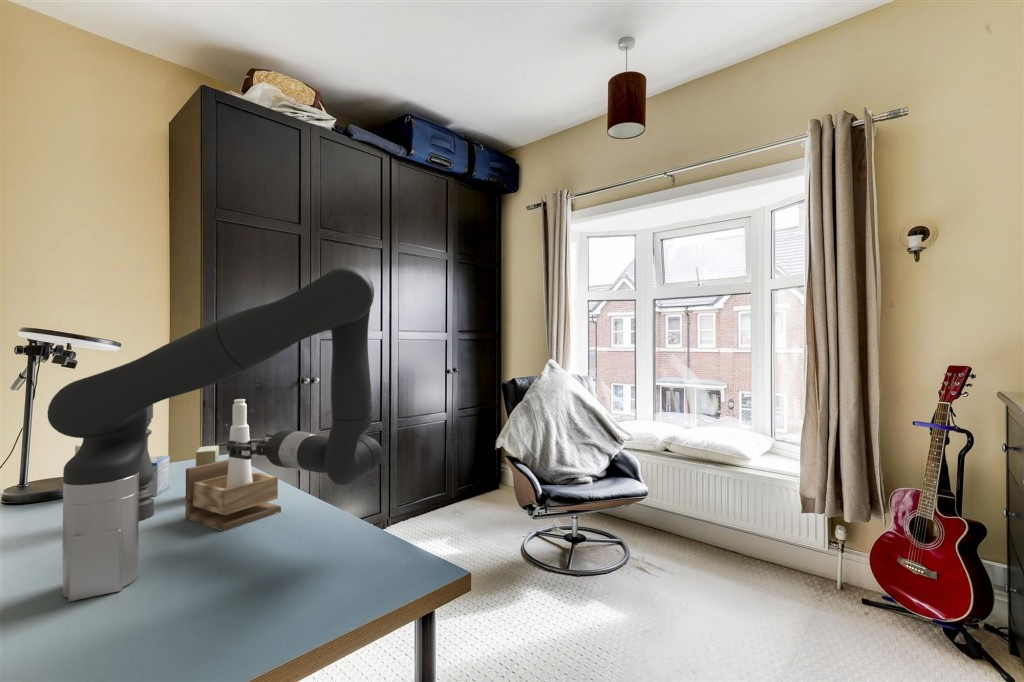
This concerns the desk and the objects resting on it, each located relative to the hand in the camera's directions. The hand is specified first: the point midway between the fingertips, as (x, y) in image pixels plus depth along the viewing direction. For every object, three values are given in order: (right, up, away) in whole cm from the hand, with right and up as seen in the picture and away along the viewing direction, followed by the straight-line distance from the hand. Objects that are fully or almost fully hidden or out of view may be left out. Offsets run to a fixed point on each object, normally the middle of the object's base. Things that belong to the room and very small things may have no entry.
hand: (248, 442), depth 104 cm
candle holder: (-25, -17, +1) cm, 31 cm away
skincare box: (-19, -17, +15) cm, 30 cm away
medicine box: (-35, -17, +18) cm, 43 cm away
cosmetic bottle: (-3, -13, +2) cm, 14 cm away
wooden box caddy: (-4, -17, +2) cm, 17 cm away
